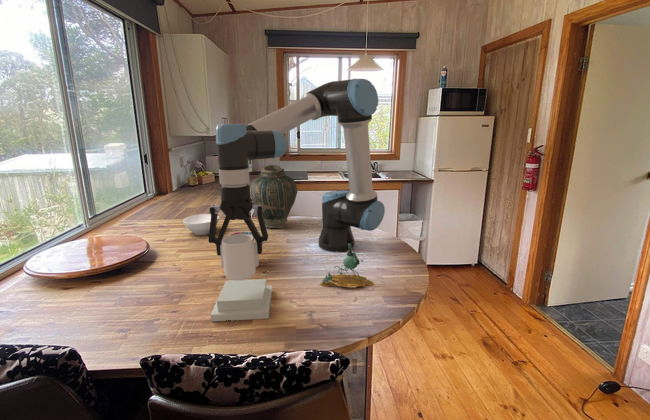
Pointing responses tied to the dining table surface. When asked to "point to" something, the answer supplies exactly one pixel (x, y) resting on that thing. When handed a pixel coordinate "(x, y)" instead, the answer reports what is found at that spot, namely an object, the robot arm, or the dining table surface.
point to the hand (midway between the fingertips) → (240, 265)
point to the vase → (274, 195)
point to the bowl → (199, 223)
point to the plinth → (244, 313)
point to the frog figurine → (347, 279)
